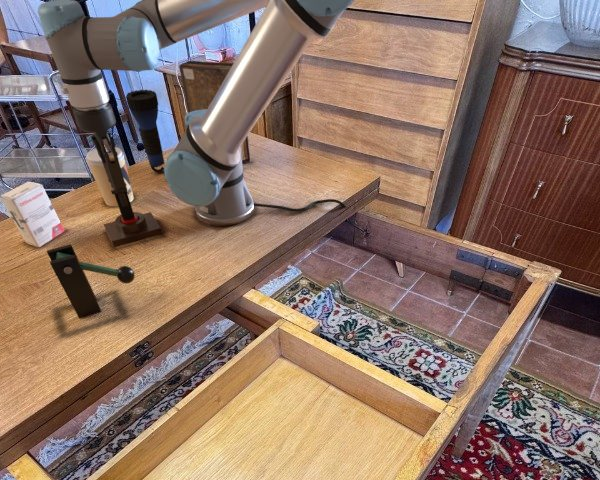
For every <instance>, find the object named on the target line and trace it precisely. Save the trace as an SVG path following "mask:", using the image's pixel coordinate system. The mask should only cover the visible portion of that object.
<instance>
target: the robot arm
mask: <svg viewBox="0 0 600 480" xmlns="http://www.w3.org/2000/svg"><path fill="white" fill-rule="evenodd" d="M354 2H355V0H140V1H138V2H136V3H135V4H134V5H132V6H131V7H129V8H127V9H125V10H123V11H121V12H120V13H118V14H116V15H114V16H102V17H101V16H98V17H95V16H94V17H93V16H86V15H85V12H84V10H83V8H82V6H81V4H80V2H78V1H77V0H50V1H45V2H42V3H40V5H39V6H38V8H37V15H38V17H39V21H40V23H41V24H40V25H41V27H42V30H43V33H44V38H45V40H46V42H47V45H48V47H49V49H50V50H49V51H50V52H51V55H52V58H53V60H54V63H55V65H56V68H57V71H58V73H59V76H60V79H61V82H62V85H63V86H64V87H63V88H62V89H61V92H62V94H63V95H67V99H68V101H69V104H70V105H71V106H72V107H73V108H72V113H73V116H74V118H75V122H76V123H77V127H78V129H79V130H81V131H82V132H84V133H91V136H90V138H91V141H92V143H93V145H94V146H95V149H97V152H98V155H99V157H100V158H101V160H102V163H103V165H104V168H105V171H106V174H107V176H108V181H109V182H110V183H111V187H112V188H113V189H114V190H111V193H112V194H114V195H115V198H116V201H117V204H118V206H117V207H118V209H119V212H120V215H122V218H123V220H125V219H129V218H133V217H135V216H134V213H133V212H134V210H133V208H132V204H131V202H130V201H129V197H128V194H127V187H126V186H127V185H126V183H125V181H124V178H123V174H122V171H121V168H120V164H119V160H118V156H117V155H118V154H117V152H116V150H115V147H116V143H115V140H114V137H113V136H112V135H111V133H110V132H108V131H109V130H110V129H112V128H114V127H115V126H116V124H117V120H116V116H115V113H114V110H113V106H112V104H111V103H109V101H110V95H109V92H108V89H107V86H106V83H105V80H104V76H103V74H102V71H126V72H127V71H129V72H131V71H132V72H136V73H140V72H145V71H153V70H155V69H156V68H157V67H158V64H159V60H160V50H162V49H165V48H167V47H170V46H173V45H175V44H177V43H179V42H181V41H184V40H186V39H188V38H191V37H194V36H196V35H199V34H201V33H204V32H206V31H209V30H212V29H214V28H216V27H219V26H221V25H224V24H227V23H230V22H231V21H234V20H237V19H239V18H242V17H244V16H247V15H249V14H252V13H254V12H257V11H259V10H262V9H264V10H263V11H262V13H261V15H260V16H259V19H258V20H257V22H256V23H255V25H254V27H253V29H252V31H251V32H250V34H249V35H248V38H247V39H246V41H245V43H244V45H243V46H242V48H241V50H240V52H239V53H238V55H237V56H236V59H235V60H234V64H233V65H232V67H231V69H230V71H229V72H228V74H227V76H226V78H225V79H224V81H223V83H222V85H221V86H220V88H219V90H218V92H217V93H216V95H215V97H214V99H213V100H212V102H211V104H210V106H209V107H208V109H204V110H196V111H192V112H189V113H188V112H187V113H186V114H185V116H184V127H185V131H184V132H183V134H182V136H181V137H180V140H178V143H177V144H176V146H175V148H174V150H173V151H172V152H171V153H169V154H168V156H167V157H166V161H165V164H164V167H163V168H164V170H163V173H164V178H165V181H166V183H167V186H168V188H169V190H170V191H171V192H172V194H173V195H174V196H175V197H176V198H178V199H179V200H180V201H181V202H183V203H185V204H187V205H189V206H192V207H194V209H195V214H196V218H197V219H198V220H199V221H200V222H201V223H203V224H204V223H207V224H208V225H210V226H217V227H225V226H232V225H233V226H234V225H236V224H239V223H242V222H245V221H247V220H248V219H249V218H251V217H252V216H253V214H254V212H255V207H257V208H258V207H261V208H268V209H269V208H271V209H279V210H283V211H288V212H298V213H299V212H303V211H306V210H309V209H310V208H312V207H313V206H315V205H317V204H325V203H336V204H339V205H341V207H343V208H347V205H346V204H345V203H344V202H343V201H341V200H339V199H334V198H328V199H320V200H315V201H313V202H311V203H309V204H308V205H306V206H304V207H299V208H292V207H287V206H283V205H277V204H276V205H275V204H267V203H257V202H256V203H255V202H254V199H253V197H252V194H251V192H250V190H249V187H248V185H247V183H246V181H245V177H244V169H243V168H244V167H243V168H242V166H243V161H242V159H241V150H240V146H241V144H242V143H243V142H244V140H245V139H246V137H247V136H248V137H249V134H250V133H251V131H252V130H253V129H254V127H255V125H256V124H257V123H258V121H259V119H260V118H261V117H262V115H263V113H264V112H265V110H266V109H267V108H268V106H269V105H270V103H271V101H272V100H273V99H274V98H275V95H276V94H277V93H278V91H279V90H280V88H281V86H282V85H283V84H284V82H285V81H286V79H287V78H288V76H290V73H291V72H292V70H293V69H294V67H295V66H296V65H297V63H298V61H300V59H301V57H302V56H303V54H304V53H305V51H306V50H307V48H308V46H309V45H310V44H311V43H312V41H313V40H320V39H326V37H327V36H328V35H329V33H330V32H331V30H332V29H333V27H334V26H335V25H336V23H337V22H338V20H339V19H340V17H341V16H342V14H343V13H344V12H345V10H347V9H348V7H350V6H352V4H353V3H354ZM343 326H347V321H344V322H343Z"/></svg>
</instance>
